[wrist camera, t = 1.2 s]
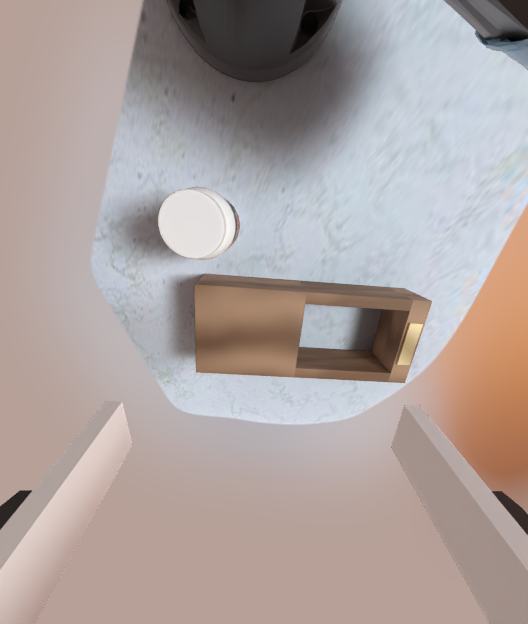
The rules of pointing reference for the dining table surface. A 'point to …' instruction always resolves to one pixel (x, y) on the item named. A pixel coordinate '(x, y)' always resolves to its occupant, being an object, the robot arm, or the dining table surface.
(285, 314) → the brown wooden open box
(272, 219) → the dining table surface
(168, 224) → the pill bottle
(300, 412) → the dining table surface
